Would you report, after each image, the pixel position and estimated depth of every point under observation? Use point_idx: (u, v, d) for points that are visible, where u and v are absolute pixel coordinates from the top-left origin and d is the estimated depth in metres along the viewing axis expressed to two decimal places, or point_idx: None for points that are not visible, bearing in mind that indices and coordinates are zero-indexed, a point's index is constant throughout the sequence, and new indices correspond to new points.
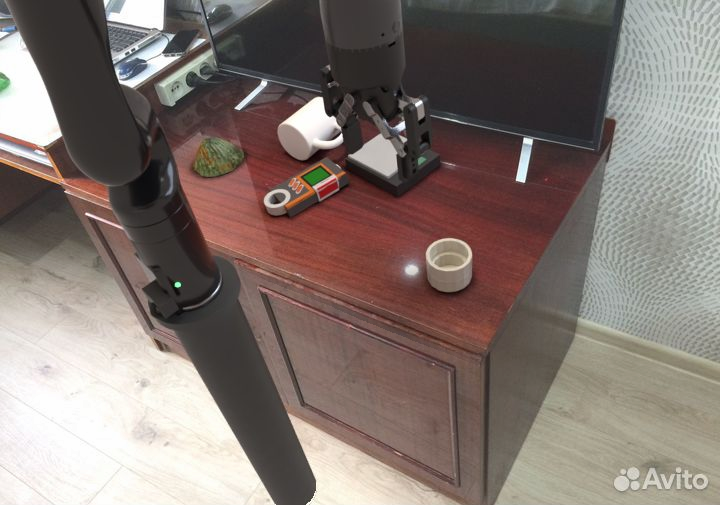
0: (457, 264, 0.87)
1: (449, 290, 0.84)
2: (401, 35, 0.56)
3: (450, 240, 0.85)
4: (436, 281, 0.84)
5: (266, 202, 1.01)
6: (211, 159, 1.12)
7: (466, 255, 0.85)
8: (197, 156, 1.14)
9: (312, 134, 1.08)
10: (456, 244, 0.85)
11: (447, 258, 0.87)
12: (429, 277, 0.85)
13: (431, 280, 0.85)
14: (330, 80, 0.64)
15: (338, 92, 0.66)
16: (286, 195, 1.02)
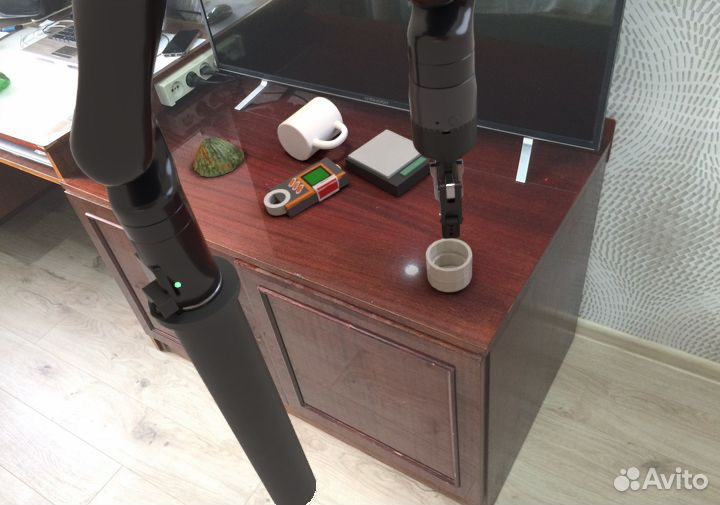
0: (457, 264, 0.87)
1: (449, 290, 0.84)
2: (461, 128, 0.65)
3: (450, 240, 0.85)
4: (436, 281, 0.84)
5: (266, 202, 1.01)
6: (211, 159, 1.12)
7: (466, 255, 0.85)
8: (197, 156, 1.14)
9: (312, 134, 1.08)
10: (456, 244, 0.85)
11: (447, 258, 0.87)
12: (429, 277, 0.85)
13: (431, 280, 0.85)
14: None
15: None
16: (286, 195, 1.02)
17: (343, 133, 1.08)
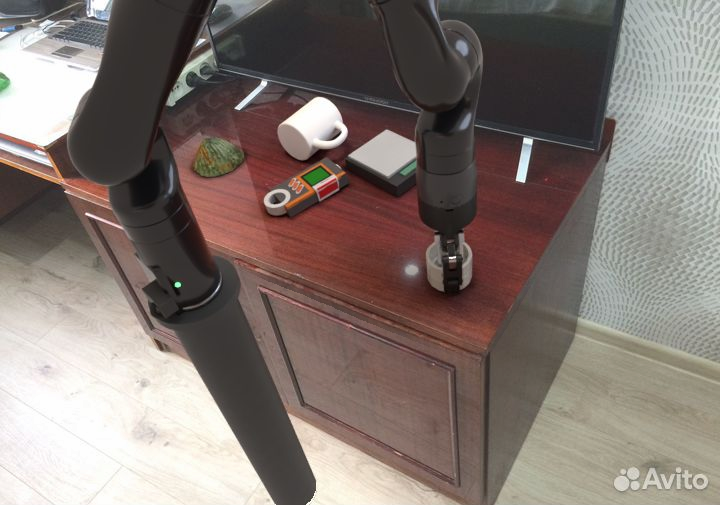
0: None
1: None
2: (463, 206, 0.73)
3: None
4: (436, 281, 0.84)
5: (266, 202, 1.01)
6: (211, 159, 1.12)
7: (466, 255, 0.85)
8: (197, 156, 1.14)
9: (312, 134, 1.08)
10: None
11: None
12: (429, 277, 0.85)
13: (431, 280, 0.85)
14: None
15: None
16: (286, 195, 1.02)
17: (343, 133, 1.08)
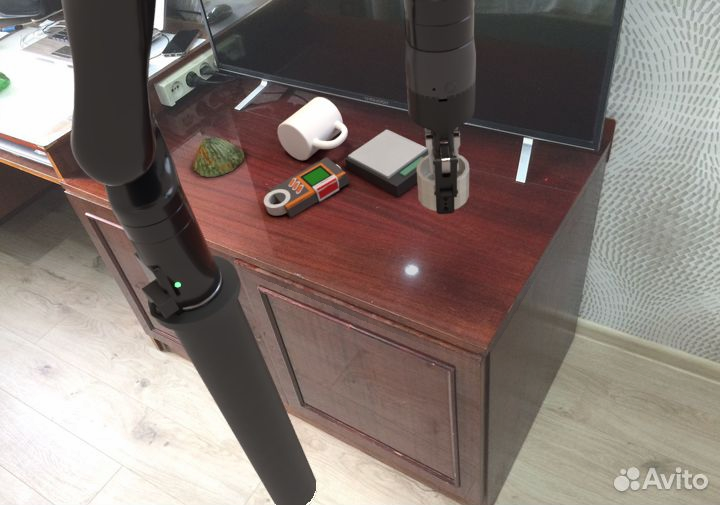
0: None
1: None
2: (459, 96, 0.62)
3: None
4: (428, 198, 0.74)
5: (266, 202, 1.01)
6: (211, 159, 1.12)
7: (462, 170, 0.75)
8: (197, 156, 1.14)
9: (312, 134, 1.08)
10: None
11: None
12: (420, 195, 0.75)
13: (422, 198, 0.74)
14: None
15: None
16: (286, 195, 1.02)
17: (343, 133, 1.08)
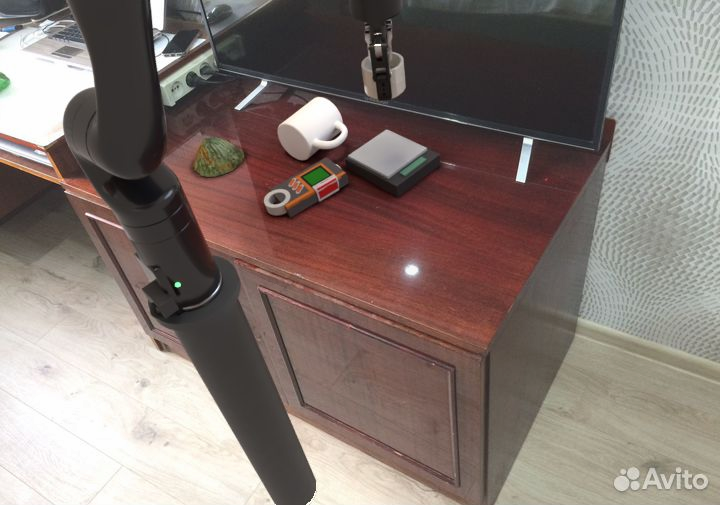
0: None
1: None
2: None
3: None
4: (371, 88, 0.90)
5: (266, 202, 1.01)
6: (211, 159, 1.12)
7: None
8: (197, 156, 1.14)
9: (312, 134, 1.08)
10: None
11: None
12: (365, 87, 0.92)
13: (367, 89, 0.91)
14: None
15: None
16: (286, 195, 1.02)
17: (343, 133, 1.08)
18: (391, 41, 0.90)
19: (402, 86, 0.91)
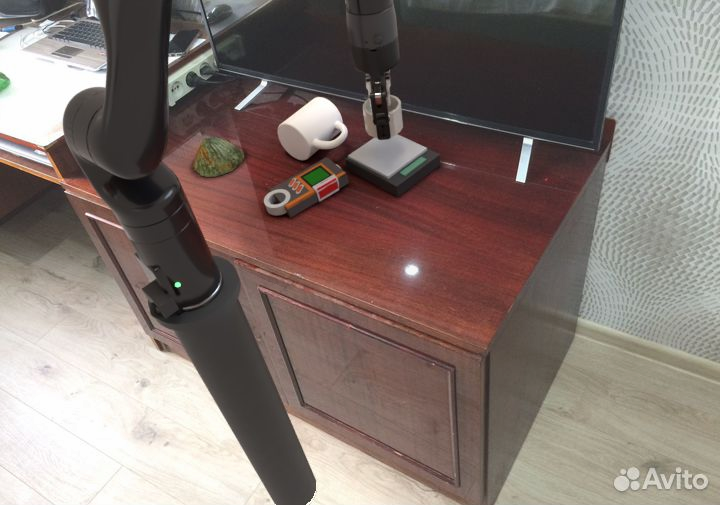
0: None
1: None
2: (385, 47, 0.88)
3: None
4: (371, 128, 0.99)
5: (266, 202, 1.01)
6: (211, 159, 1.12)
7: None
8: (197, 156, 1.14)
9: (312, 134, 1.08)
10: None
11: None
12: (366, 127, 1.01)
13: (368, 129, 1.00)
14: None
15: None
16: (286, 195, 1.02)
17: (343, 133, 1.08)
18: None
19: (400, 126, 1.00)
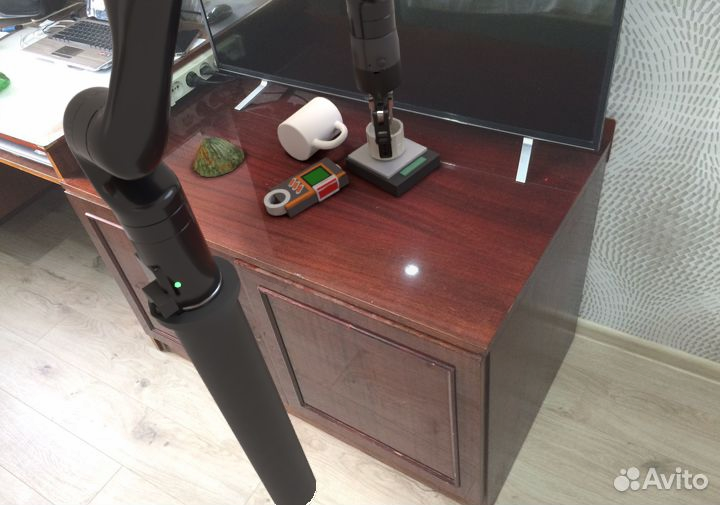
0: None
1: (385, 158, 1.03)
2: (387, 70, 0.91)
3: None
4: (374, 150, 1.02)
5: (266, 202, 1.01)
6: (211, 159, 1.12)
7: None
8: (197, 156, 1.14)
9: (312, 134, 1.08)
10: None
11: None
12: (369, 148, 1.04)
13: (371, 150, 1.03)
14: None
15: None
16: (286, 195, 1.02)
17: (343, 133, 1.08)
18: None
19: (402, 148, 1.03)
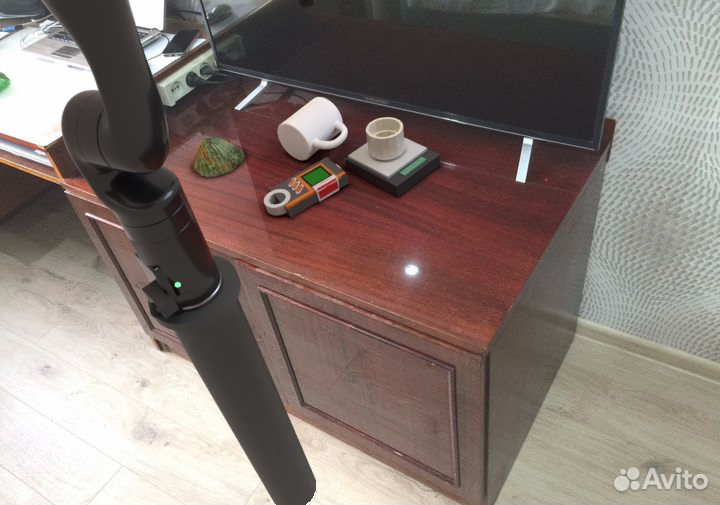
0: None
1: (385, 158, 1.03)
2: None
3: (387, 118, 1.04)
4: (374, 150, 1.02)
5: (266, 202, 1.01)
6: (211, 159, 1.12)
7: None
8: (197, 156, 1.14)
9: (312, 134, 1.08)
10: (392, 122, 1.04)
11: (385, 136, 1.06)
12: (369, 148, 1.04)
13: (371, 150, 1.03)
14: None
15: None
16: (286, 195, 1.02)
17: (343, 133, 1.08)
18: None
19: (402, 148, 1.03)
